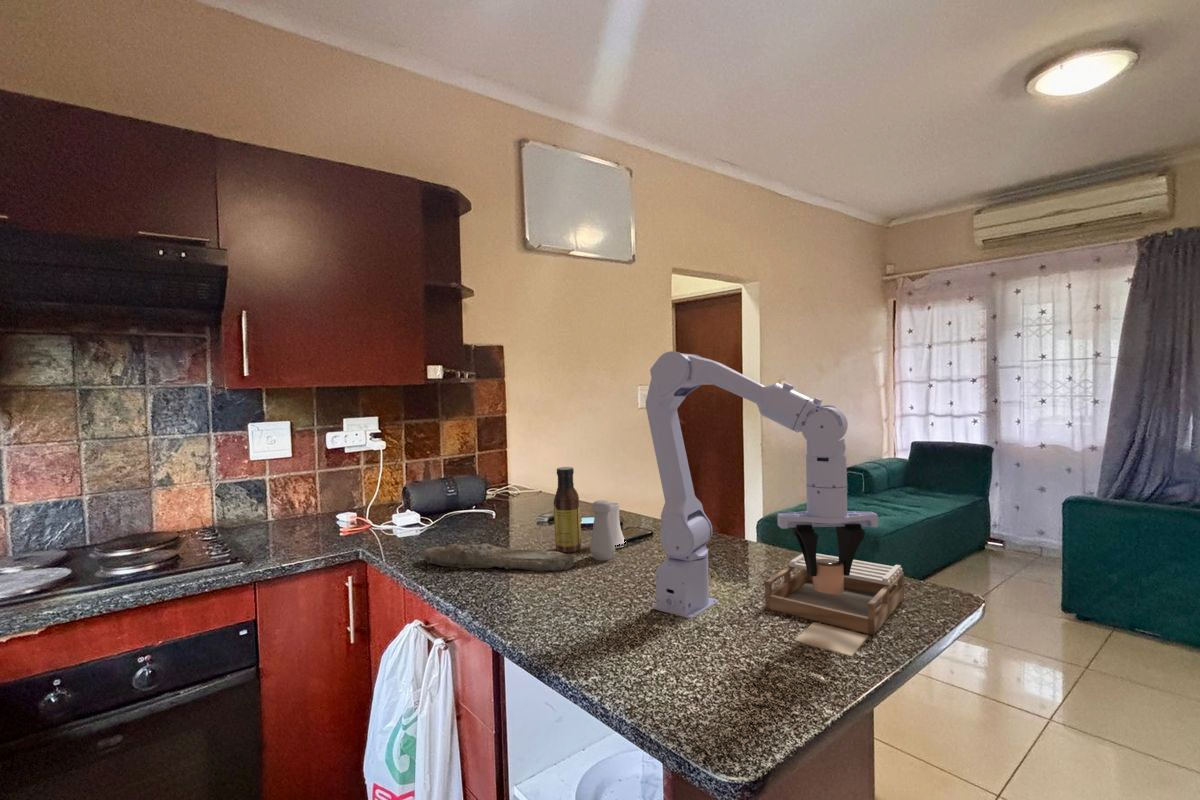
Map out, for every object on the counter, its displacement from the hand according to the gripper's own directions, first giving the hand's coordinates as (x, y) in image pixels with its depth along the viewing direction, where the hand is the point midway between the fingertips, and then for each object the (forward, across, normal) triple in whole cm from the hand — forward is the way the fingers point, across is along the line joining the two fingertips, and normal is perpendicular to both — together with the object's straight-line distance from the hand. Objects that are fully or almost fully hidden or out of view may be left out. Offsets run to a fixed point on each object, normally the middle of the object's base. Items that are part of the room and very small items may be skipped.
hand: (828, 573), depth 84 cm
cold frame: (+9, -5, -11) cm, 15 cm away
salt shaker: (+9, +35, -40) cm, 54 cm away
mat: (+9, +1, +3) cm, 9 cm away
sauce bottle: (+9, +44, -47) cm, 65 cm away
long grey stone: (+9, +59, -37) cm, 70 cm away
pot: (+2, 0, 0) cm, 2 cm away
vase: (+9, +34, -51) cm, 62 cm away
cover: (+4, -9, -14) cm, 17 cm away
